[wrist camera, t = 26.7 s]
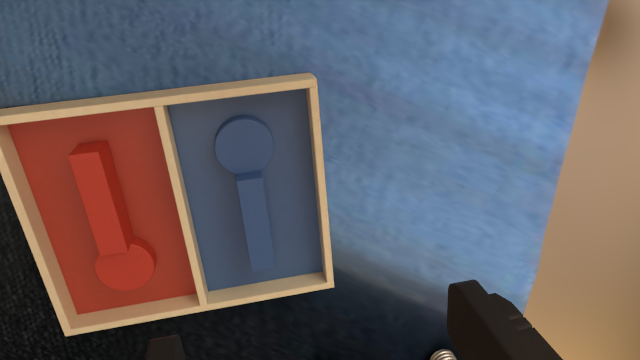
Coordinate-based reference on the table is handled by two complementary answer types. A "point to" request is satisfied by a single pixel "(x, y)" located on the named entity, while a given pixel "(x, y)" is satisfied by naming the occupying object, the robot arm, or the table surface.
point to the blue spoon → (249, 181)
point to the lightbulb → (443, 355)
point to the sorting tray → (171, 198)
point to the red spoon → (110, 220)
